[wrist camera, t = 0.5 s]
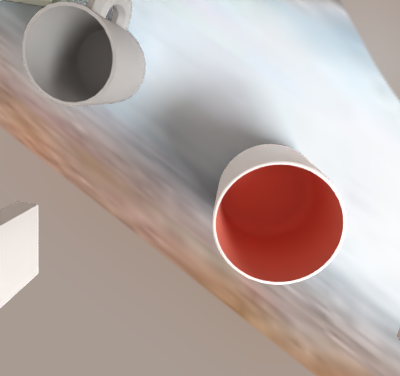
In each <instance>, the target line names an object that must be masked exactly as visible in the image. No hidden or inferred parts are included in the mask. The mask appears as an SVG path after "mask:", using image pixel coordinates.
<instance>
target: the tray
mask: <svg viewBox="0 0 400 376" xmlns="http://www.w3.org/2000/svg"><path fill="white" fill-rule="evenodd" d="M5 1H11V2H18V3H24V4H31V5H37V6H44V7H45V6H47V5H49V4H52V3H56V2H60V1H63V2H69V0H5Z"/></svg>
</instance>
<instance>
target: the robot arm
mask: <svg viewBox="0 0 400 376" xmlns="http://www.w3.org/2000/svg"><path fill="white" fill-rule="evenodd" d="M38 272H39V270H38V204H33V203H27V202H20V201H17V202H15V203H13V204H11V205H9V206H7V207H5V208H3V209H1V210H0V308H1V307H2V306H3V305H4V304H5V303H6V302H8V301H9V300H10V299H11V298H12V297H13V296H14V295H15V294H16V293H17V292H19V291H20V290H21V289H22V288H23V287H24V286H25V285H26V284H27V283H28V282H30V281H31V280H32V279H33V278H34V277H35V276H36V275H37V274H38ZM397 337H398V338H399V340H400V328H399V331H398V334H397Z"/></svg>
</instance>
